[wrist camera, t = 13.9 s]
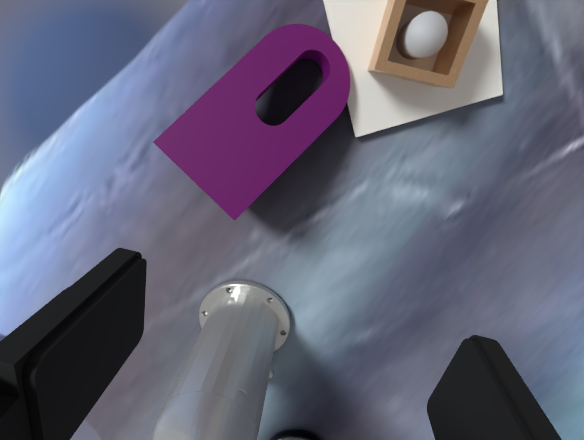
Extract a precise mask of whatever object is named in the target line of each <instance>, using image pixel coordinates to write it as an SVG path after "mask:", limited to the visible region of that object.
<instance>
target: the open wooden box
mask: <svg viewBox="0 0 584 440" xmlns="http://www.w3.org/2000/svg"><path fill="white" fill-rule="evenodd" d="M488 1H489V0H388V1H387V5H386V8H385V12H384V15H383V18H382V22H381V25H380V29H379V32H378V36H377V39H376V43H375V46H374V50H373V53H372V57H371V60H370V64H369V67H368V70H367V71H371V72H375V73H380V74H384V75H388V76H392V77H396V78H400V79H404V80H408V81H413V82H417V83H421V84H425V85H429V86H433V87H442V88H454V86H455V84H456V81H457V79H458V76H459V74H460V71H461V69H462V66H463V64H464V61H465V59H466V56H467V54H468V51H469V48H470V46H471V43H472V41H473V38H474V36H475V33H476V31H477V28H478V26H479V23H480V21H481V18H482V16H483V13H484V11H485V8H486V6H487V3H488ZM405 4H408V5H412V6H416V7H420V8H424V9H429V10H433V11H437V12H441V13H445V14H449V15H452V17H451V20H450V23H449V25H448V34H447V38H446V41H445V43H444V45H443V46H442V48H441V49H440V50H439V53H438V56H437V58H436V61H435V64H434V67H433V69H432V72H431V71H427V70H423V69H419V68H415V67H411V66H406V65H402V64H398V63H394V62H390V61H388V57H389V54H390V51H391V48H392V44H393V41H394V38H395V35H396V31H397V28H398V25H399V22H400V18H401V15H402V12H403V9H404V5H405Z"/></svg>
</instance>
